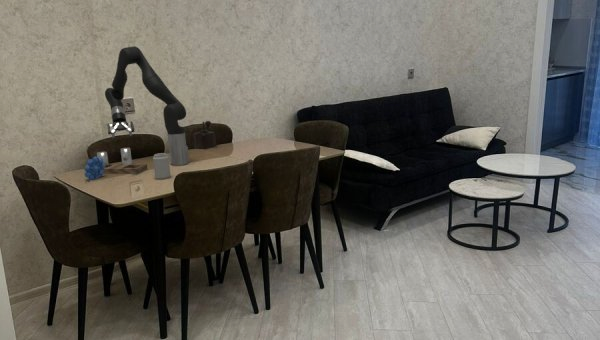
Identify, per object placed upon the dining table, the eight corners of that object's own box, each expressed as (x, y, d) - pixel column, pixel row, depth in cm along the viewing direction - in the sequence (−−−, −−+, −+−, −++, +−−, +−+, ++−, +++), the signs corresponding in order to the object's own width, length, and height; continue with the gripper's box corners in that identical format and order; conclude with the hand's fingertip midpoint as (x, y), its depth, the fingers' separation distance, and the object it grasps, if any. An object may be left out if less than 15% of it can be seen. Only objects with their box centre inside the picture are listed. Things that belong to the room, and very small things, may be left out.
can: (173, 177, 255) (171, 153, 252) (160, 180, 250) (158, 156, 247) (165, 175, 260) (162, 151, 257) (152, 178, 255) (149, 154, 252)
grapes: (101, 176, 263) (98, 153, 260) (109, 178, 259) (106, 154, 257) (80, 182, 254) (77, 158, 251) (89, 183, 250) (85, 159, 247)
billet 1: (111, 170, 273) (108, 151, 271) (105, 172, 268) (103, 153, 266) (102, 169, 274) (100, 151, 272) (97, 172, 269) (94, 153, 267)
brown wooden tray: (147, 170, 272) (146, 164, 271) (137, 175, 262) (136, 169, 261) (100, 170, 278) (99, 164, 277) (88, 175, 267) (87, 168, 267)
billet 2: (134, 165, 284) (131, 147, 282) (129, 167, 280) (127, 149, 277) (125, 165, 285) (123, 147, 283) (121, 167, 281) (118, 149, 278)
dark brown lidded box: (193, 148, 330) (190, 120, 325) (205, 145, 338) (203, 118, 334) (210, 150, 321) (207, 121, 317) (222, 146, 329) (220, 119, 325)
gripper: (105, 112, 291) (108, 135, 283) (131, 110, 296) (135, 132, 289) (105, 121, 297) (109, 143, 289) (131, 118, 302) (135, 140, 295)
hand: (122, 138), depth 289 cm, fingers open, 8 cm apart
